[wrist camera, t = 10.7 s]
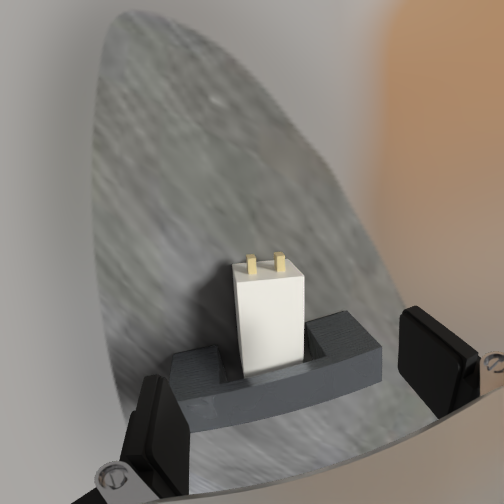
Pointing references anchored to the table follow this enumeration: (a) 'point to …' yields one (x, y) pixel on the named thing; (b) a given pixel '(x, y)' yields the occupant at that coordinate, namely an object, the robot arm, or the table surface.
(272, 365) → the plug
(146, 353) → the table surface
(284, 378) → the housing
